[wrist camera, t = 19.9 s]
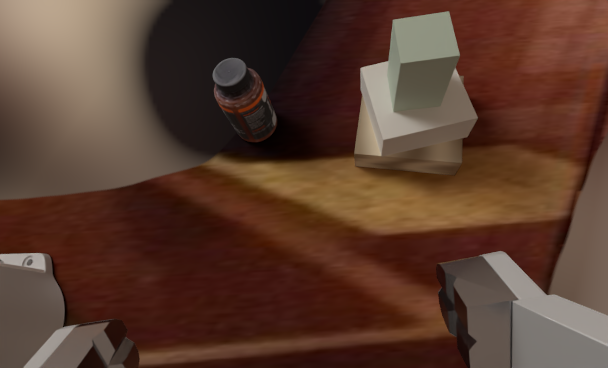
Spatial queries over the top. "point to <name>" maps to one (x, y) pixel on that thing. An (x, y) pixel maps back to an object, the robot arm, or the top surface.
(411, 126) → the white top slab
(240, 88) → the supplement bottle
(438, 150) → the maple base slab
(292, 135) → the top surface
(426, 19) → the sage block
